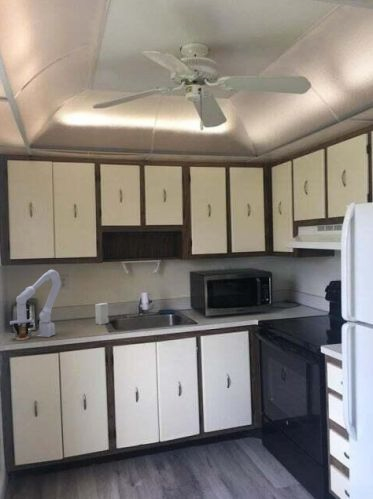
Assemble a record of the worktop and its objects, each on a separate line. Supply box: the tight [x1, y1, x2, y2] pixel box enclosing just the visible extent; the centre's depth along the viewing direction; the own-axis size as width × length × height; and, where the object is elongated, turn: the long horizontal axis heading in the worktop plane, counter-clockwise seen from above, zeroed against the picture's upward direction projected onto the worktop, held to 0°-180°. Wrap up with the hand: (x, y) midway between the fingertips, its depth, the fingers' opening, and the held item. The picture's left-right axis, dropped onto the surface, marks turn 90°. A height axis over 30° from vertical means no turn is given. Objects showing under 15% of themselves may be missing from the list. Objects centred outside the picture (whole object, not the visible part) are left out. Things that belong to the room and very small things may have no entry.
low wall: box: [14, 330, 32, 338], centre depth 271 cm, size 10×1×3 cm, turn 108°
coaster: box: [15, 335, 30, 341], centre depth 265 cm, size 8×8×1 cm
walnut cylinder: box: [18, 326, 27, 338], centre depth 265 cm, size 5×5×6 cm
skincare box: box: [94, 302, 109, 325], centre depth 303 cm, size 8×6×15 cm
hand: (22, 334), depth 265 cm, fingers closed on walnut cylinder, 5 cm apart
